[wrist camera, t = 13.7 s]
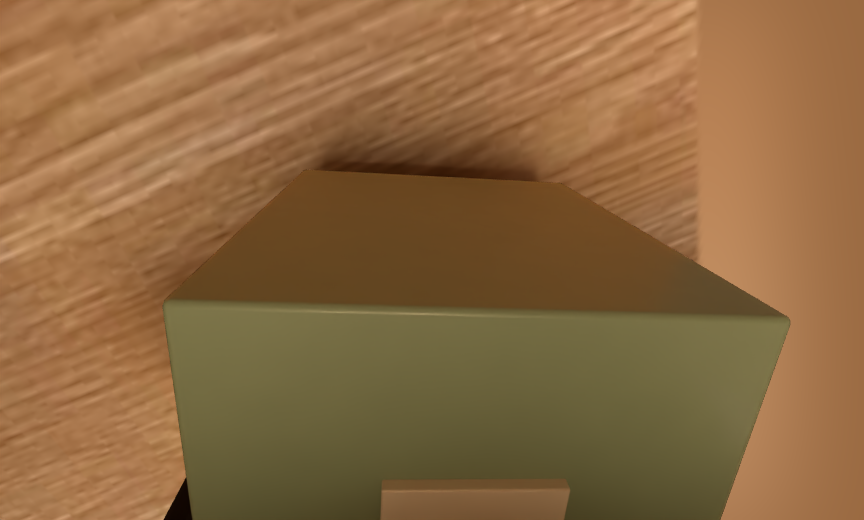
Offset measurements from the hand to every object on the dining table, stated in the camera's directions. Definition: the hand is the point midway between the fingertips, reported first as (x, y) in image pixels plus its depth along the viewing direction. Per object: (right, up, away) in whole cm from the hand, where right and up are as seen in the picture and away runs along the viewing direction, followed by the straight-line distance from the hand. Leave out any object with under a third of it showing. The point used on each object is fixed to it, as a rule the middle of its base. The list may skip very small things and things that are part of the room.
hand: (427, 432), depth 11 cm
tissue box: (0, +1, +2) cm, 2 cm away
